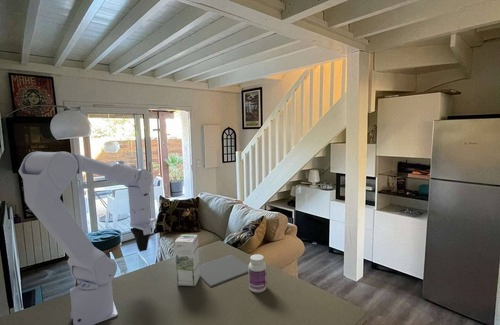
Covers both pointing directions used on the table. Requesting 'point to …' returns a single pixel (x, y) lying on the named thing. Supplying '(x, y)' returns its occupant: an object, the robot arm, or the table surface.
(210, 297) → the table surface
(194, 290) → the table surface
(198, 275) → the syrup box
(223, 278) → the rubber mat
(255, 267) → the pill bottle
